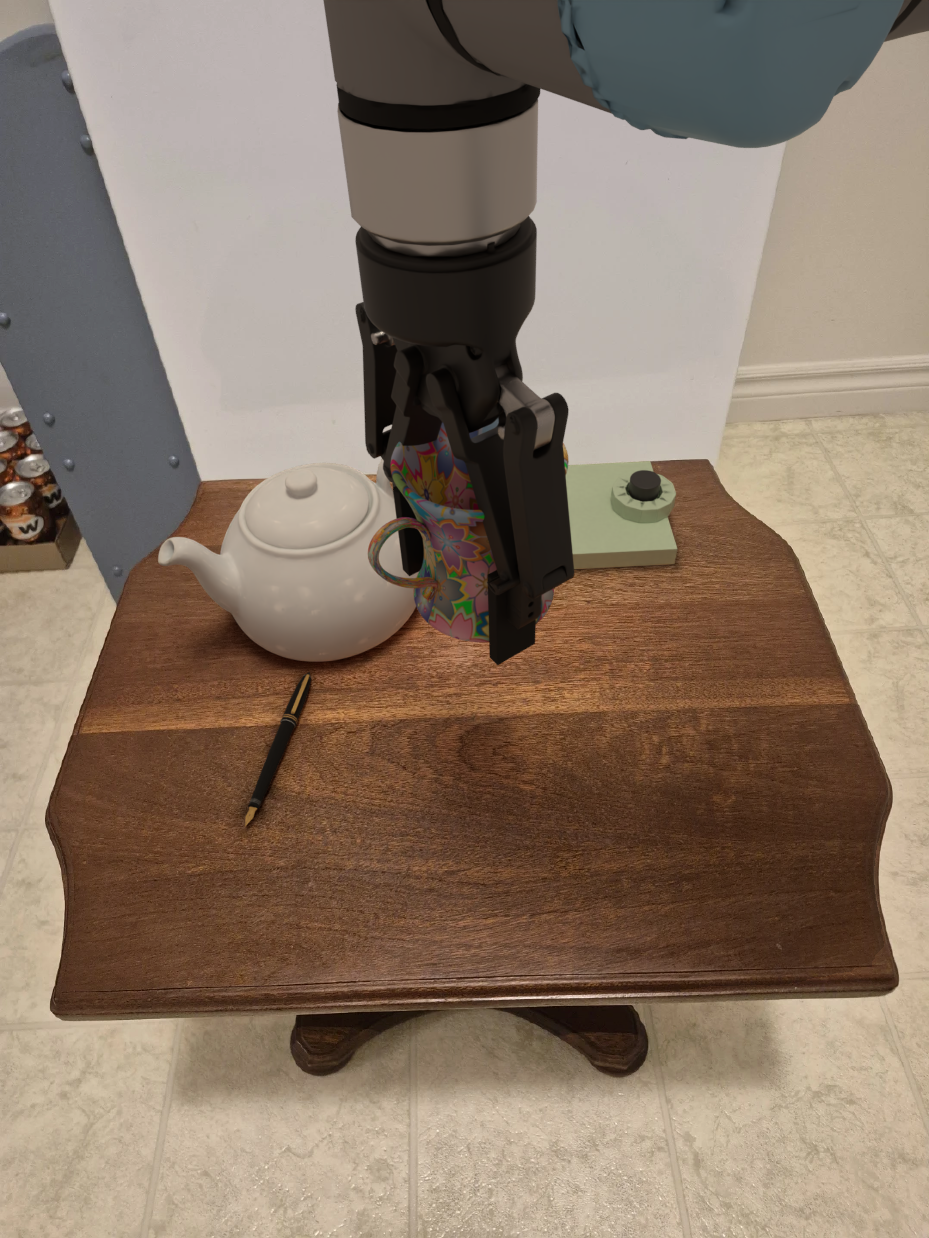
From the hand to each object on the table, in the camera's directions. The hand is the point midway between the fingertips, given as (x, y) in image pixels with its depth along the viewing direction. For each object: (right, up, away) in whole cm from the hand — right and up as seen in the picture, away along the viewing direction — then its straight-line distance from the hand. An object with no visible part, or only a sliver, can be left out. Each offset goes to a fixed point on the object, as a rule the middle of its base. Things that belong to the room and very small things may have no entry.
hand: (465, 604), depth 51 cm
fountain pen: (-14, -11, +13) cm, 22 cm away
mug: (0, -1, 0) cm, 1 cm away
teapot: (-12, +1, +24) cm, 27 cm away
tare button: (+17, +11, +27) cm, 34 cm away
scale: (+11, +8, +30) cm, 33 cm away
